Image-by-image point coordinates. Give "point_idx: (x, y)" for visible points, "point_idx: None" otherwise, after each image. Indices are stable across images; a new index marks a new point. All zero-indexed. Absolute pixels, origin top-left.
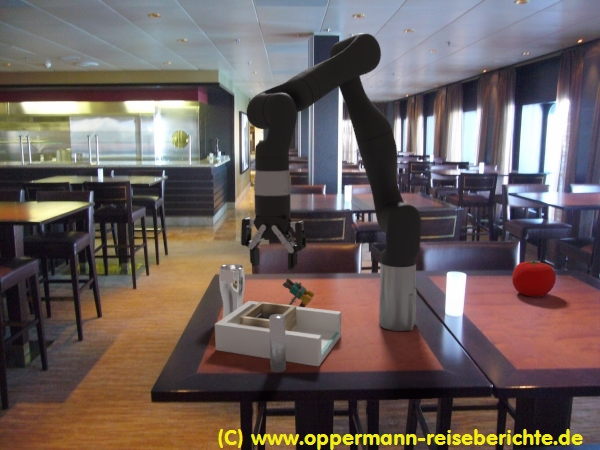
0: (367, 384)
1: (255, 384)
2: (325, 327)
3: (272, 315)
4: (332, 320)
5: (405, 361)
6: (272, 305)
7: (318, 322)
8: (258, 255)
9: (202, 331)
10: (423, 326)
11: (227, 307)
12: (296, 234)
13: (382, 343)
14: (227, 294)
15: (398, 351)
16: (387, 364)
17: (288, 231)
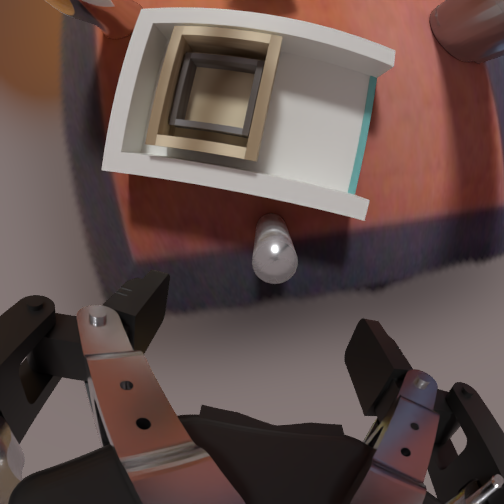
0: (418, 263)
1: (243, 288)
2: (349, 65)
3: (259, 253)
4: (372, 65)
5: (472, 179)
6: (212, 36)
7: (335, 57)
8: (151, 304)
9: (81, 95)
10: None
11: (101, 26)
12: (443, 500)
13: (445, 106)
14: (86, 18)
15: (466, 141)
16: (451, 191)
17: (424, 465)
